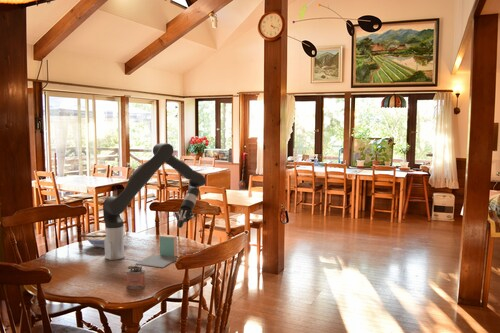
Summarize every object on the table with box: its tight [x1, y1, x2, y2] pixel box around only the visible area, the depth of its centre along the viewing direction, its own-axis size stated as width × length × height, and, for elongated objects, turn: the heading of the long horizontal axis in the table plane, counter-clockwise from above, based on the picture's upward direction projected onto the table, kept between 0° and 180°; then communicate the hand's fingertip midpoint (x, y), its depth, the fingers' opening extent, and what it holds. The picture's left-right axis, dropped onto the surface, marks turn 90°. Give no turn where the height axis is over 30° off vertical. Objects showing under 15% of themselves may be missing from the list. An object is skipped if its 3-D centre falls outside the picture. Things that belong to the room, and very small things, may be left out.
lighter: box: [125, 264, 146, 290], centre depth 178 cm, size 8×3×10 cm, turn 92°
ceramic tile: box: [159, 234, 178, 257], centre depth 222 cm, size 3×9×11 cm, turn 71°
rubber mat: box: [135, 253, 179, 269], centre depth 213 cm, size 16×16×1 cm
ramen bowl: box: [78, 229, 127, 249], centre depth 239 cm, size 25×23×8 cm
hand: (179, 227), depth 234 cm, fingers closed
